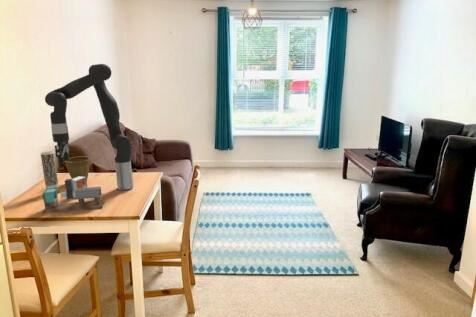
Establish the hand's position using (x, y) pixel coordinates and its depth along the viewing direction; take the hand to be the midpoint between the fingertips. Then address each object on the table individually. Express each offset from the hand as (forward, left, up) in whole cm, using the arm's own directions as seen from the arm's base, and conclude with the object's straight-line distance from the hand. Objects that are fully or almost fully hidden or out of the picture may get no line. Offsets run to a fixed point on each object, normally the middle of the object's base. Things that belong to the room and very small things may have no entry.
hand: (64, 162), depth 184 cm
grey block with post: (-6, +2, -19) cm, 20 cm away
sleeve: (-10, +2, -19) cm, 22 cm away
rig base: (-3, +2, -25) cm, 25 cm away
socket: (+9, +2, -20) cm, 22 cm away
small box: (0, -18, -25) cm, 31 cm away
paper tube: (+17, -26, -25) cm, 40 cm away
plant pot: (+6, -45, -25) cm, 52 cm away
